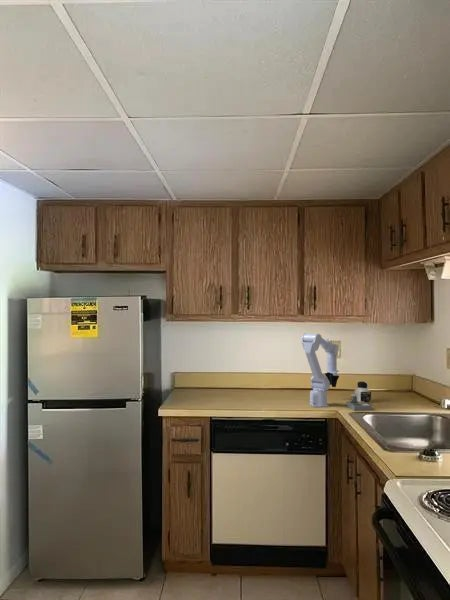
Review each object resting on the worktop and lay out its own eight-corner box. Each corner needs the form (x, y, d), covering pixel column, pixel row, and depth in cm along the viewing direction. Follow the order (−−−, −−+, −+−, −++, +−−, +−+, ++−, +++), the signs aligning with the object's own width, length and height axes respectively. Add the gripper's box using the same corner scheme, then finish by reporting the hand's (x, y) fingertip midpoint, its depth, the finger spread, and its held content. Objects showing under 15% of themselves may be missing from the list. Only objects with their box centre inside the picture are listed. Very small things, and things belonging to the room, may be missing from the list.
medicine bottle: (360, 403, 288) (360, 383, 288) (354, 401, 295) (354, 381, 295) (371, 402, 290) (371, 382, 290) (364, 400, 297) (364, 380, 297)
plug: (352, 407, 277) (352, 395, 277) (350, 406, 280) (350, 394, 280) (357, 407, 277) (357, 395, 277) (355, 406, 280) (355, 394, 280)
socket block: (354, 410, 269) (354, 406, 269) (346, 405, 282) (346, 401, 282) (371, 410, 270) (371, 405, 270) (363, 405, 283) (363, 400, 283)
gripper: (342, 364, 287) (342, 387, 287) (334, 361, 301) (334, 383, 301) (330, 365, 286) (330, 388, 286) (323, 361, 301) (323, 383, 301)
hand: (331, 385), depth 294 cm, fingers open, 7 cm apart
